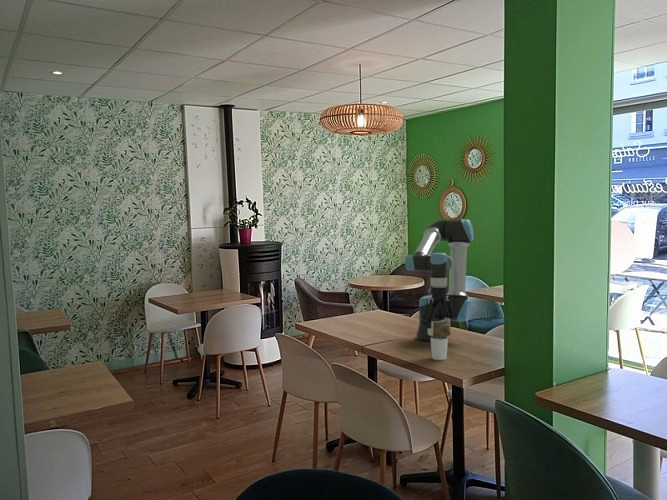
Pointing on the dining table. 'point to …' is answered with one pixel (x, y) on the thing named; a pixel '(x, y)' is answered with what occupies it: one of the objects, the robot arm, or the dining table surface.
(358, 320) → the dining table surface
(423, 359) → the dining table surface
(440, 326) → the walnut lid
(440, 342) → the white cup
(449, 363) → the dining table surface
